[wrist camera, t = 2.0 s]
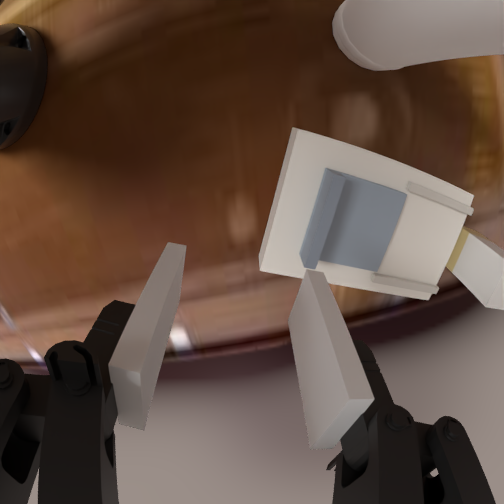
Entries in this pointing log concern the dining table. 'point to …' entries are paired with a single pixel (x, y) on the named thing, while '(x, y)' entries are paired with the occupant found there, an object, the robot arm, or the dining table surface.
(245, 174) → the dining table surface
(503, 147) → the dining table surface
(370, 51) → the bottle
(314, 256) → the shutter
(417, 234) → the socket
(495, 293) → the plug
